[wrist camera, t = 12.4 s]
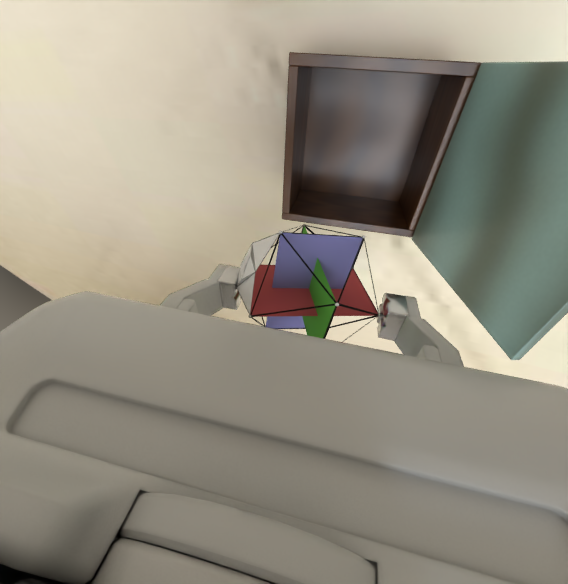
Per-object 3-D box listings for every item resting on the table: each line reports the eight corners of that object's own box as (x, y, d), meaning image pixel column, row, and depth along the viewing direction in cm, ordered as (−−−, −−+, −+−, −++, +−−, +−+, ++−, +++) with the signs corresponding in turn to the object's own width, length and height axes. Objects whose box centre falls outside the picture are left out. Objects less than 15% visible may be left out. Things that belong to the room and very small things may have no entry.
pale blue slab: (510, 360, 16) (520, 360, 16) (809, 58, 7) (827, 59, 7) (411, 239, 28) (416, 239, 28) (481, 62, 19) (489, 62, 19)
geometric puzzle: (433, 249, 13) (321, 313, 8) (379, 339, 17) (287, 411, 13) (326, 192, 17) (208, 216, 12) (304, 278, 21) (212, 318, 17)
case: (295, 192, 37) (281, 219, 30) (306, 56, 28) (289, 52, 21) (403, 205, 35) (413, 237, 28) (451, 64, 26) (483, 62, 19)
